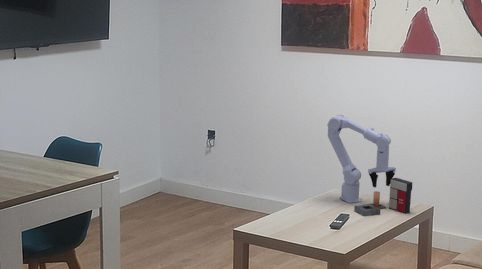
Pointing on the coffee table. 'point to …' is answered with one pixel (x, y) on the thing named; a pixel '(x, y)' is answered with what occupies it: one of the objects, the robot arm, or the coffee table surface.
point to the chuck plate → (367, 210)
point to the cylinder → (376, 199)
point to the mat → (380, 206)
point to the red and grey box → (400, 195)
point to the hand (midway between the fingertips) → (381, 186)
